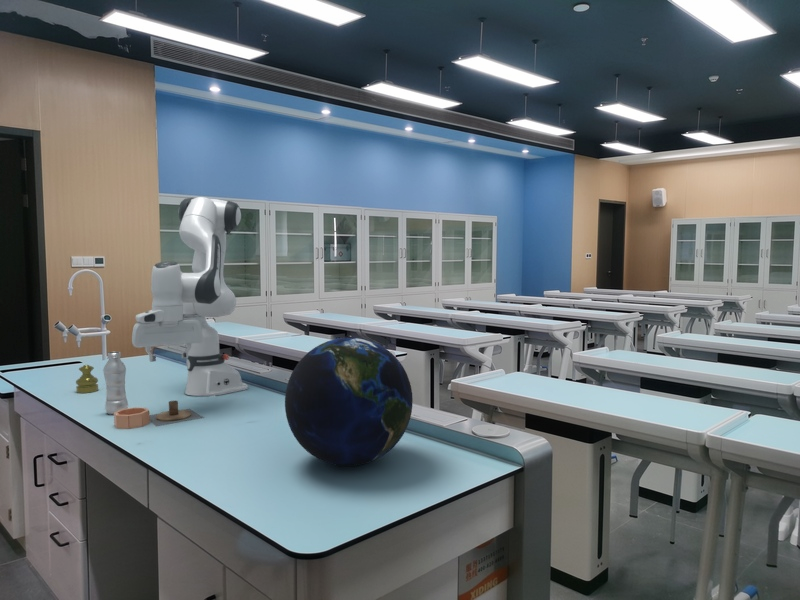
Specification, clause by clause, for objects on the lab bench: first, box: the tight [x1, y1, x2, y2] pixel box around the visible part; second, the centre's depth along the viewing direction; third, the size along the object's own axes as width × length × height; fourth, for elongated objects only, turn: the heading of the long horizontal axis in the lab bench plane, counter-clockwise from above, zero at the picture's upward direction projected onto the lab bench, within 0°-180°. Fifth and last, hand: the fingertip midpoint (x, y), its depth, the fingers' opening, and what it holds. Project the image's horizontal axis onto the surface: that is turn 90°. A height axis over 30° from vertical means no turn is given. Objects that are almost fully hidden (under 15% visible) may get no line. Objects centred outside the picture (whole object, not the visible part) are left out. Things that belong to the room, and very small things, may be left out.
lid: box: [156, 400, 191, 421], centre depth 177 cm, size 10×10×5 cm
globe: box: [284, 336, 413, 467], centre depth 136 cm, size 30×30×30 cm
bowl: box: [113, 407, 151, 430], centre depth 170 cm, size 9×9×4 cm
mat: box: [149, 408, 205, 427], centre depth 177 cm, size 14×14×1 cm
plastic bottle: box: [102, 351, 129, 416], centre depth 182 cm, size 6×7×20 cm
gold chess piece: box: [75, 364, 99, 394], centre depth 216 cm, size 7×7×10 cm
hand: (169, 359), depth 176 cm, fingers open, 8 cm apart
